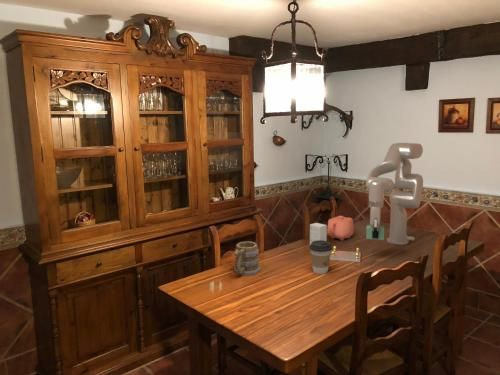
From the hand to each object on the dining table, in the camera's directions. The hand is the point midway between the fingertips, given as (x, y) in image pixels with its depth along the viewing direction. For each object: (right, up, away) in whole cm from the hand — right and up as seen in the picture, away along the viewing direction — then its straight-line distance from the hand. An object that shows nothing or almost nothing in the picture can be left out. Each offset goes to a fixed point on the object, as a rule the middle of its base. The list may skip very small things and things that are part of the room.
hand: (375, 235), depth 226 cm
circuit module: (0, -1, 0) cm, 1 cm away
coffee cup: (-32, -17, -14) cm, 38 cm away
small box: (-27, -9, +26) cm, 38 cm away
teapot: (-10, -6, +40) cm, 42 cm away
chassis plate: (-15, -12, +6) cm, 20 cm away
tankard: (-70, -17, -14) cm, 74 cm away
